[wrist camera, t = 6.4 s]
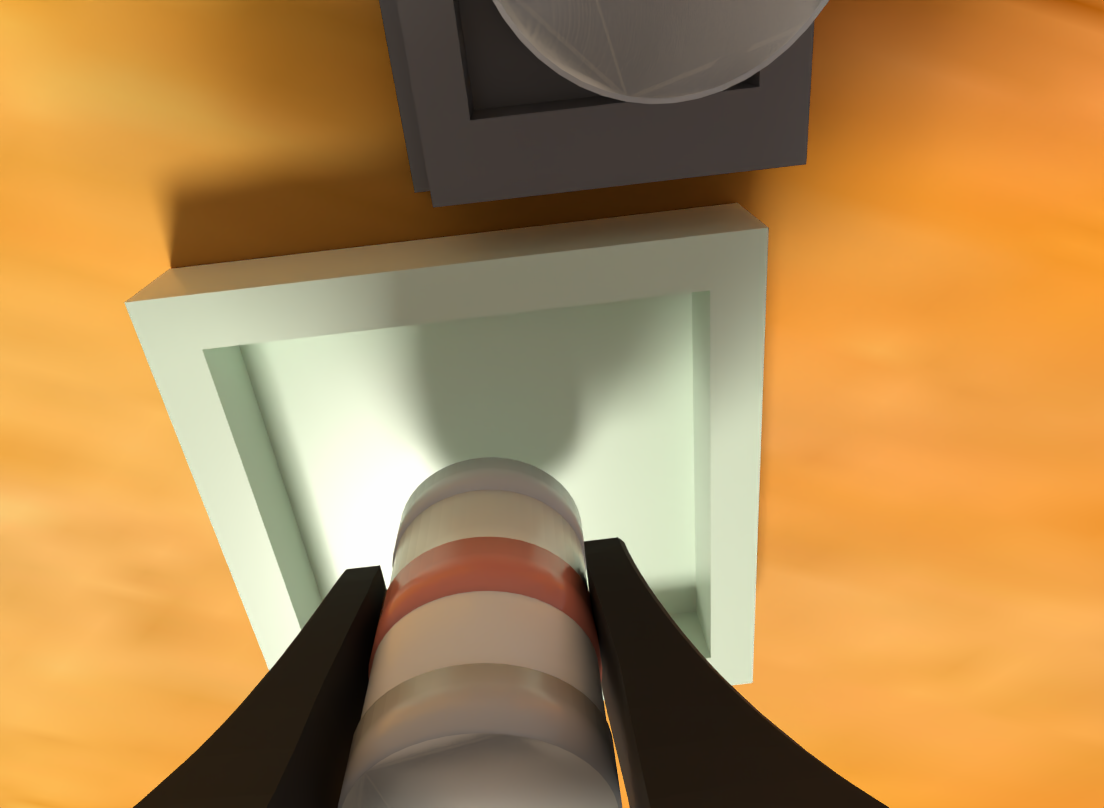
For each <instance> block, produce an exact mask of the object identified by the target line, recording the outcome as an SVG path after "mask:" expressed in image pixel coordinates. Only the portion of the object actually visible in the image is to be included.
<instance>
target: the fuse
mask: <svg viewBox="0 0 1104 808" xmlns="http://www.w3.org/2000/svg"><path fill="white" fill-rule="evenodd" d="M828 1H829V0H493V2H494V4H495V5H496V7H497V9H498V11H499V12H500V14H501V16H502V17H503V19H504V20H505V21H506V23H507V24H508V25H509V26H510V28H511V29H512V30H513V32H514V33H515V34H516V36H517V37H518V38H519V40H520V41H521V42H522V43H523V44H524V45H525V46H526V47H527V48H528V49H529V50H530V51H531V52H532V53H533V54H534V55H535V56H536V57H537V58H538V59H540V60H541V61H542V62H543V63H545V64H546V65H547V66H549V67H550V68H551V69H552V70H554V71H555V72H556V73H558V74H559V75H561V76H562V77H564V78H566V79H568V80H569V81H571V82H573V83H575V84H576V85H578V86H580V87H582V88H584V89H587V90H589V91H592V92H594V93H597V94H599V95H602V96H605V97H609V98H613V99H617V100H621V101H626V102H634V103H644V104H664V103H678V102H683V101H688V100H694V99H699V98H702V97H705V96H708V95H711V94H714V93H717V92H720V91H723V90H725V89H727V88H729V87H731V86H733V85H736V84H738V83H740V82H742V81H744V80H746V79H747V78H749V77H751V76H752V75H754V74H755V73H757V72H758V71H760V70H761V69H763V68H764V67H766V66H768V65H769V64H770V63H771V62H773V61H774V60H775V59H776V58H777V57H779V56H780V55H781V54H782V53H783V52H785V51H786V50H787V49H788V48H789V47H790V46H791V45H792V44H793V43H794V42H795V41H796V40H797V39H798V38H799V37H800V36H801V35H802V34H803V33H804V32H805V31H806V30H807V29H808V27H809V26H810V25H811V24H812V22H813V21H814V20H815V18H816V17H817V16H818V15H819V13H820V12H821V11H822V9H823V8H824V7H825V5H826V4H827V3H828Z"/></svg>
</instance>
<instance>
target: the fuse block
mask: <svg viewBox="0 0 1104 808" xmlns="http://www.w3.org/2000/svg"><path fill="white" fill-rule="evenodd" d="M379 3H380V8H381V14H382V19H383V24H384V30H385V35H386V40H387V46H388V51H389V57H390V62H391V67H392V73H393V78H394V83H395V89H396V94H397V100H398V105H399V110H400V116H401V121H402V127H403V132H404V137H405V143H406V148H407V153H408V159H409V164H410V170H411V175H412V180H413V186H414V191H415V193H417V192H425V191H430V193H431V199H432V204H433V208H434V207H442V206H451V205H460V204H468V203H477V202H485V201H494V200H503V199H511V198H520V197H529V196H537V195H546V194H554V193H563V192H572V191H580V190H589V189H597V188H606V187H615V186H623V185H632V184H640V183H649V182H658V181H666V180H675V179H683V178H692V177H701V176H709V175H718V174H726V173H735V172H744V171H752V170H761V169H769V168H778V167H787V166H795V165H804V164H806V159H807V142H808V124H809V107H810V89H811V71H812V54H813V36H814V21H813V22H812V24H811V25H810V26H809V27H808V29H807V30H806V31H805V32H804V33H803V34H802V35H801V36H800V37H799V38H798V39H797V40H796V41H795V42H794V43H793V44H792V45H791V46H790V47H789V48H788V49H787V50H786V51H785V52H783V53H782V54H781V55H780V56H779V57H777V58H776V59H775V60H774V61H773V62H771V63H770V64H769V65H768V66H766V67H764V68H763V69H761V70H760V71H758V72H757V73H755V74H754V75H752V76H751V77H749V78H747V79H746V80H744V81H742V82H740V83H738V84H736V85H733V86H731V87H729V88H727V89H725V90H723V91H720V92H717V93H714V94H711V95H708V96H705V97H702V98H699V99H694V100H688V101H683V102H678V103H664V104H644V103H634V102H626V101H621V100H617V99H613V98H609V97H605V96H602V95H599V94H597V93H594V92H592V91H589V90H587V89H584V88H582V87H580V86H578V85H576V84H575V83H573V82H571V81H569V80H568V79H566V78H564V77H562V76H561V75H559V74H558V73H556V72H555V71H554V70H552V69H551V68H550V67H549V66H547V65H546V64H545V63H543V62H542V61H541V60H540V59H538V58H537V57H536V56H535V55H534V54H533V53H532V52H531V51H530V50H529V49H528V48H527V47H526V46H525V45H524V44H523V43H522V42H521V41H520V40H519V38H518V37H517V36H516V34H515V33H514V32H513V30H512V29H511V28H510V26H509V25H508V24H507V23H506V21H505V20H504V19H503V17H502V16H501V14H500V12H499V11H498V9H497V7H496V5H495V4H494V2H493V0H379Z"/></svg>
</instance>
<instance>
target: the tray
mask: <svg viewBox="0 0 1104 808" xmlns="http://www.w3.org/2000/svg"><path fill="white" fill-rule="evenodd" d="M767 256H768V227H767V226H766V225H765V224H763V223H762V222H761V221H760V220H758V219H757V218H756V217H755V216H753V215H752V214H751V213H750V212H748V211H747V210H746V209H745V208H743V207H742V206H741V205H740V204H738V203H731V204H723V205H714V206H705V207H697V208H688V209H680V210H671V211H662V212H654V213H645V214H637V215H628V216H619V217H611V218H602V219H594V220H585V221H576V222H568V223H559V224H551V225H542V226H533V227H525V228H516V229H508V230H499V231H490V232H482V233H473V234H465V235H456V236H447V237H439V238H430V239H422V240H413V241H404V242H396V243H387V244H379V245H370V246H361V247H353V248H344V249H336V250H327V251H318V252H310V253H301V254H293V255H284V256H275V257H267V258H258V259H250V260H241V261H233V262H224V263H215V264H207V265H198V266H190V267H181V268H172V269H169V270H167V271H166V272H165V273H163V274H162V275H161V276H159V277H158V278H157V279H155V280H154V281H153V282H151V283H150V284H149V285H147V286H146V287H145V288H143V289H142V290H141V291H139V292H138V293H137V294H135V295H134V296H133V297H131V298H130V299H129V300H127V301H126V302H125V305H126V308H127V310H128V313H129V315H130V318H131V320H132V323H133V325H134V328H135V331H136V333H137V336H138V338H139V341H140V343H141V346H142V348H143V351H144V353H145V356H146V358H147V361H148V364H149V366H150V369H151V371H152V374H153V376H154V379H155V381H156V384H157V386H158V389H159V391H160V394H161V397H162V399H163V402H164V404H165V407H166V409H167V412H168V414H169V417H170V419H171V422H172V425H173V427H174V430H175V432H176V435H177V437H178V440H179V442H180V445H181V447H182V450H183V452H184V455H185V458H186V460H187V463H188V465H189V468H190V470H191V473H192V475H193V478H194V480H195V483H196V486H197V488H198V491H199V493H200V496H201V498H202V501H203V503H204V506H205V508H206V511H207V513H208V516H209V519H210V521H211V524H212V526H213V529H214V531H215V534H216V536H217V539H218V541H219V544H220V547H221V549H222V552H223V554H224V557H225V559H226V562H227V564H228V567H229V569H230V572H231V574H232V577H233V580H234V582H235V585H236V587H237V590H238V592H239V595H240V597H241V600H242V602H243V605H244V608H245V610H246V613H247V615H248V618H249V620H250V623H251V625H252V628H253V630H254V633H255V635H256V638H257V641H258V643H259V646H260V648H261V651H262V653H263V656H264V658H265V661H266V663H267V666H268V669H269V671H270V669H271V668H272V667H273V666H274V665H275V663H276V662H277V661H278V660H279V658H280V657H281V656H282V654H283V653H284V652H285V650H286V649H287V648H288V647H289V645H290V644H291V643H292V641H293V640H294V639H295V637H296V636H297V635H298V634H299V632H300V631H301V630H302V628H303V627H304V626H305V624H306V623H307V622H308V620H309V619H310V618H311V616H312V615H313V613H314V612H315V611H316V609H317V608H318V607H319V605H320V604H321V602H322V601H323V600H324V598H325V597H326V595H327V594H328V593H329V591H330V590H331V588H332V587H333V586H334V584H335V583H336V582H337V580H338V579H339V578H340V576H341V575H342V574H343V572H344V571H345V570H346V569H352V568H360V567H369V566H377V565H380V566H381V570H382V574H383V577H384V581H385V585H386V589H388V587H389V584H390V580H391V575H392V570H393V568H392V561H393V552H394V548H395V543H396V539H397V534H398V530H399V525H400V521H401V516H402V512H403V510H404V507H405V505H406V503H407V501H408V499H409V498H410V496H411V494H412V493H413V492H414V491H415V489H416V488H417V487H418V486H419V485H420V484H421V483H422V482H423V481H424V480H425V479H427V478H428V477H430V476H431V475H432V474H434V473H435V472H437V471H439V470H441V469H443V468H445V467H446V466H449V465H452V464H454V463H457V462H461V461H465V460H469V459H475V458H484V457H497V458H508V459H513V460H517V461H521V462H524V463H527V464H530V465H533V466H535V467H537V468H539V469H541V470H543V471H545V472H546V473H548V474H549V475H551V476H552V477H554V478H555V479H556V480H557V481H558V482H560V483H561V484H562V485H563V487H564V488H565V489H566V490H567V491H568V492H569V494H570V495H571V497H572V498H573V500H574V502H575V504H576V506H577V508H578V511H579V514H580V517H581V523H582V530H583V537H584V541H590V540H599V539H607V538H616V537H618V538H620V539H621V540H622V541H624V542H625V545H626V547H627V549H628V551H629V553H630V555H631V557H632V559H633V561H634V563H635V564H636V566H637V568H638V569H639V571H640V573H641V574H642V576H643V577H644V579H645V581H646V582H647V584H648V585H649V587H650V588H651V590H652V591H653V593H654V594H655V596H656V597H657V598H658V600H659V601H660V603H661V604H662V605H663V607H664V608H665V609H666V611H667V612H668V613H669V615H670V616H671V617H672V619H673V620H674V621H675V623H676V624H677V625H678V626H679V628H680V629H681V630H682V632H683V633H684V634H685V635H686V636H687V638H688V639H689V640H690V641H691V642H692V643H693V645H694V646H695V647H696V648H697V649H698V651H699V652H700V653H701V654H702V655H703V656H704V657H705V658H706V660H707V661H708V662H709V663H710V664H711V665H712V666H713V667H714V668H715V669H716V670H717V671H718V673H719V674H720V675H721V676H722V677H723V678H724V679H725V680H726V681H727V682H728V683H729V684H730V685H738V684H747V683H752V682H753V653H754V625H755V597H756V568H757V540H758V512H759V483H760V455H761V426H762V398H763V370H764V341H765V313H766V285H767ZM586 578H587V585H588V577H587V567H586ZM588 590H589V587H588ZM602 694H603V691H602ZM603 700H604V696H603Z"/></svg>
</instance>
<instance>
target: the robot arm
mask: <svg viewBox="0 0 1104 808" xmlns="http://www.w3.org/2000/svg"><path fill="white" fill-rule="evenodd" d="M584 548H585V558H586V567H587V577H588V587H589V592H590V595H591V601H592V607H593V612H594V617H595V622H596V628H597V635H598V642H599V649H600V656H601V663H602V680H601V687H602V691H603V696H604V700H605V704H606V708H607V713H608V717H609V721H610V725H611V729H612V733H613V738H614V742H615V746H616V750H617V754H618V758H619V763H620V767H621V771H622V775H623V779H624V783H625V788H626V792H627V796H628V800H629V805H630V808H889V807H887V806H886V805H884V804H883V803H881V802H879V801H878V800H876V799H875V798H873V797H872V796H870V795H869V794H867V793H865V792H864V791H862V790H861V789H859V788H858V787H856V786H854V785H853V784H851V783H850V782H849V781H847V780H846V779H844V778H843V777H841V776H840V775H838V774H837V773H836V772H834V771H833V770H832V769H830V768H829V767H827V766H826V765H825V764H823V763H822V762H821V761H819V760H818V759H817V758H815V757H814V756H813V755H811V754H810V753H808V752H807V751H806V750H805V749H803V748H802V747H801V746H800V745H799V744H797V743H796V742H795V741H794V740H792V739H791V738H790V737H789V736H788V735H786V734H785V733H784V732H783V731H782V730H780V729H779V728H778V727H777V726H776V725H774V724H773V723H772V722H771V721H769V720H768V719H767V718H766V717H765V716H763V715H762V714H761V713H760V712H759V711H758V710H757V709H756V708H755V707H753V706H752V705H751V704H750V703H749V702H748V701H747V700H746V699H745V698H744V697H743V696H742V695H741V694H740V693H738V692H737V691H736V690H735V689H734V688H733V687H732V686H731V685H730V684H729V683H728V682H727V681H726V680H725V679H724V678H723V677H722V676H721V675H720V674H719V673H718V671H717V670H716V669H715V668H714V667H713V666H712V665H711V664H710V663H709V662H708V661H707V660H706V658H705V657H704V656H703V655H702V654H701V653H700V652H699V651H698V649H697V648H696V647H695V646H694V645H693V643H692V642H691V641H690V640H689V639H688V638H687V636H686V635H685V634H684V633H683V632H682V630H681V629H680V628H679V626H678V625H677V624H676V623H675V621H674V620H673V619H672V617H671V616H670V615H669V613H668V612H667V611H666V609H665V608H664V607H663V605H662V604H661V603H660V601H659V600H658V598H657V597H656V596H655V594H654V593H653V591H652V590H651V588H650V587H649V585H648V584H647V582H646V581H645V579H644V577H643V576H642V574H641V573H640V571H639V569H638V568H637V566H636V564H635V563H634V561H633V559H632V557H631V555H630V553H629V551H628V549H627V547H626V545H625V542H624V541H622V540H621V539H620V538H618V537H616V538H607V539H599V540H590V541H584ZM386 591H387V589H386V585H385V581H384V577H383V574H382V570H381V566H380V565H377V566H369V567H360V568H352V569H346V570H345V571H344V572H343V574H342V575H341V576H340V578H339V579H338V580H337V582H336V583H335V584H334V586H333V587H332V588H331V590H330V591H329V593H328V594H327V595H326V597H325V598H324V600H323V601H322V602H321V604H320V605H319V607H318V608H317V609H316V611H315V612H314V613H313V615H312V616H311V618H310V619H309V620H308V622H307V623H306V624H305V626H304V627H303V628H302V630H301V631H300V632H299V634H298V635H297V636H296V637H295V639H294V640H293V641H292V643H291V644H290V645H289V647H288V648H287V649H286V650H285V652H284V653H283V654H282V656H281V657H280V658H279V660H278V661H277V662H276V663H275V665H274V666H273V667H272V668H271V669H270V671H269V672H268V673H267V674H266V675H265V677H264V678H263V679H262V680H261V681H260V682H259V684H258V685H257V686H256V687H255V688H254V690H253V691H252V692H251V693H250V694H249V695H248V697H247V698H246V699H245V700H244V701H243V702H242V704H241V705H240V706H239V707H238V708H237V709H236V710H235V711H234V712H233V714H232V715H231V716H230V717H229V718H228V719H227V720H226V721H225V722H224V723H223V724H222V725H221V726H220V728H219V729H218V730H217V731H216V732H215V733H214V734H213V735H212V736H211V737H210V738H209V739H208V740H207V741H206V742H205V743H204V744H203V745H202V746H201V747H200V748H199V749H198V750H197V751H196V752H195V753H193V754H192V755H191V756H190V757H189V758H188V759H187V760H186V761H185V762H184V763H183V764H182V765H180V766H179V767H178V768H177V769H176V770H175V771H174V772H173V773H172V774H170V775H169V776H168V777H167V778H166V779H165V780H164V781H163V782H161V783H160V784H159V785H158V786H157V787H156V788H155V789H154V790H152V791H151V792H150V793H149V794H148V795H147V796H146V797H145V798H144V799H142V800H141V801H140V802H139V803H138V804H137V805H135V806H134V807H133V808H338V803H339V799H340V794H341V790H342V785H343V781H344V776H345V771H346V767H347V762H348V758H349V753H350V749H351V744H352V740H353V735H354V732H355V730H356V728H357V725H358V723H359V721H360V720H361V715H362V711H363V706H364V701H365V697H366V692H367V687H368V683H369V678H368V671H369V662H370V657H371V653H372V648H373V644H374V639H375V635H376V630H377V625H378V621H379V616H380V612H381V607H382V603H383V599H384V596H385V594H386Z"/></svg>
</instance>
